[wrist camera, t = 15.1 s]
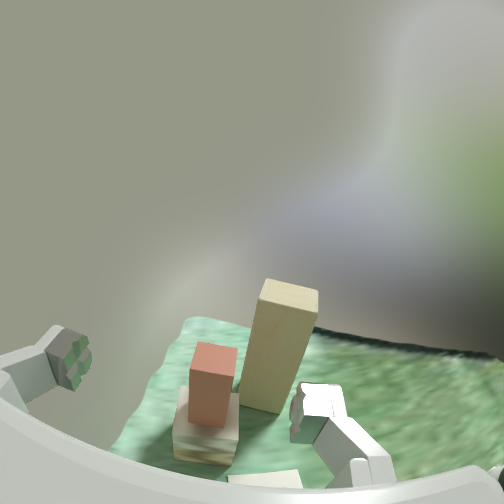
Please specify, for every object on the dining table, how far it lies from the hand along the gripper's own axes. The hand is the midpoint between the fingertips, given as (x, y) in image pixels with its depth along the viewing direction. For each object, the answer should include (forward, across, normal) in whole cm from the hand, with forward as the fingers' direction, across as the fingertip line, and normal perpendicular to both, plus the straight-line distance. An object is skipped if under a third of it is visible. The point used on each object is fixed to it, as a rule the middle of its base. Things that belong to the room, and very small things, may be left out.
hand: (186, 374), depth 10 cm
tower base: (+16, 0, +32) cm, 36 cm away
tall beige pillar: (+28, -8, +32) cm, 43 cm away
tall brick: (+16, 0, +24) cm, 29 cm away
